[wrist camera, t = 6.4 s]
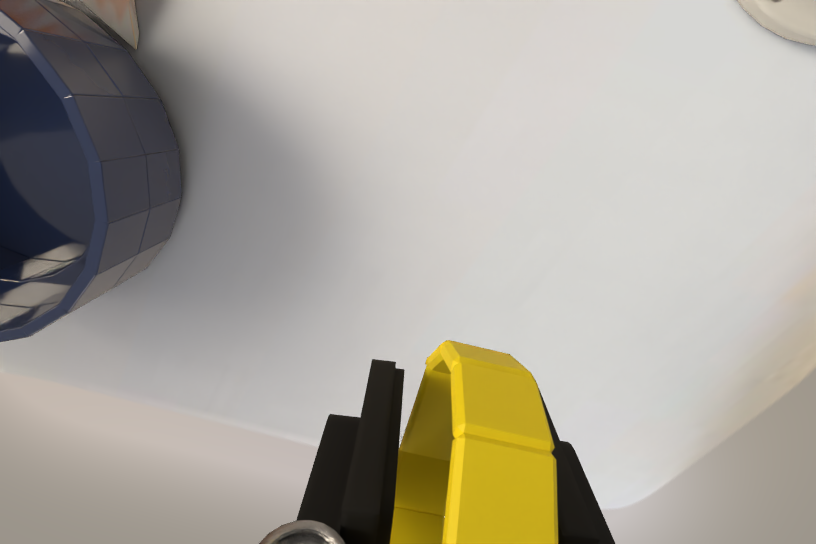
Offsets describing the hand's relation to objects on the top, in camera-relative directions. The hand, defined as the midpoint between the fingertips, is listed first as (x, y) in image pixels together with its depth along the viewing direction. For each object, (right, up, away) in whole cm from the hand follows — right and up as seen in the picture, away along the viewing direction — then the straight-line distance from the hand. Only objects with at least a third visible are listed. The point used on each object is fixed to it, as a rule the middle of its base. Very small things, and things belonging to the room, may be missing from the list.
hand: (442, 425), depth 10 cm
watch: (0, 0, +1) cm, 1 cm away
